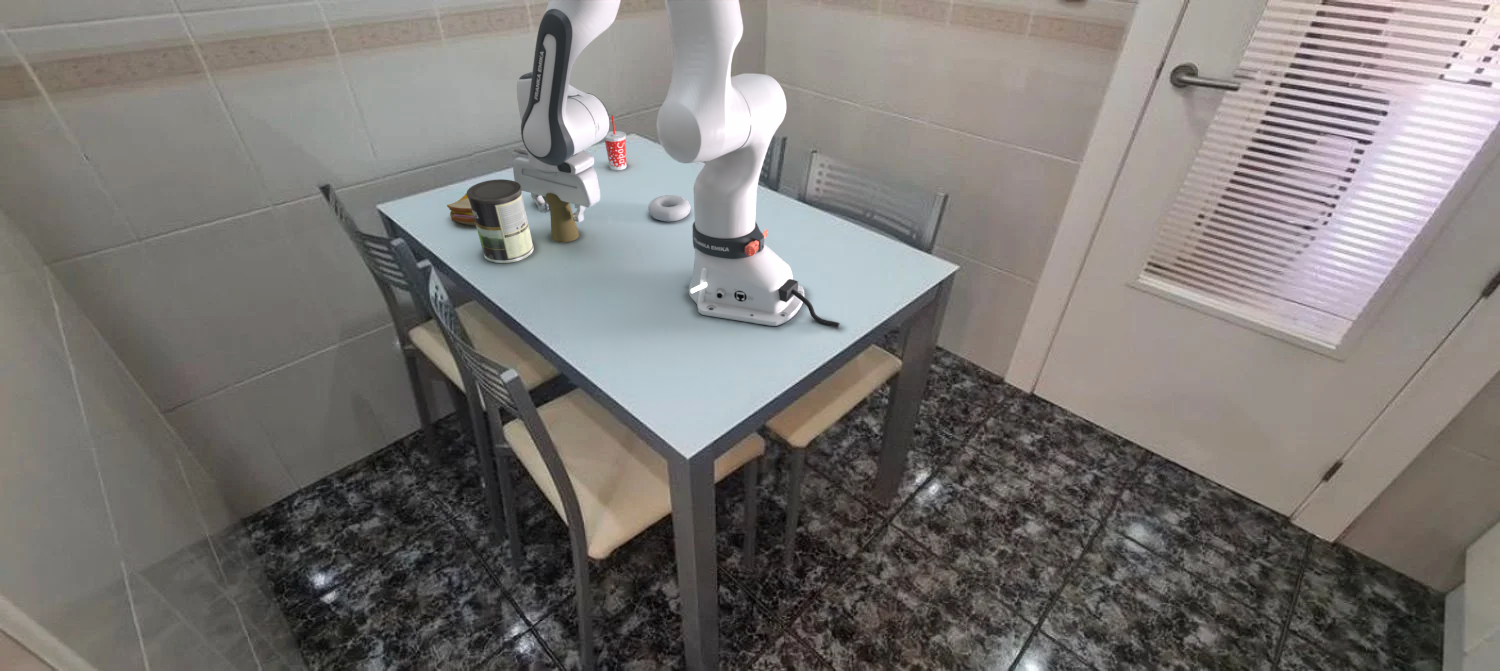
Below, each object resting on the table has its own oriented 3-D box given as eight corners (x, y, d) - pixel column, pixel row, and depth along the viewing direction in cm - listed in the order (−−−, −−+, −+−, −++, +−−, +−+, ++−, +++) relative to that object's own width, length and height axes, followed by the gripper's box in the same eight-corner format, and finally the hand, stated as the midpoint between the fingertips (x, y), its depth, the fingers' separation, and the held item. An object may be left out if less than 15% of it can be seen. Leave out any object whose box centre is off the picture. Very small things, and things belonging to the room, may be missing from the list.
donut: (654, 227, 141) (696, 220, 144) (653, 213, 139) (695, 206, 142) (644, 209, 148) (684, 203, 151) (643, 196, 146) (683, 189, 149)
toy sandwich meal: (519, 208, 147) (514, 189, 144) (481, 232, 137) (476, 213, 134) (476, 200, 150) (471, 181, 147) (436, 223, 140) (430, 204, 137)
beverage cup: (611, 172, 166) (604, 120, 157) (603, 165, 170) (597, 113, 162) (632, 169, 168) (627, 117, 160) (624, 161, 172) (619, 110, 164)
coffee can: (482, 266, 125) (464, 202, 117) (484, 243, 133) (467, 181, 124) (535, 260, 128) (521, 196, 119) (534, 237, 135) (520, 176, 127)
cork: (572, 244, 133) (563, 196, 127) (546, 240, 134) (537, 193, 128) (583, 231, 138) (576, 185, 132) (558, 228, 139) (550, 182, 133)
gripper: (500, 150, 126) (514, 211, 135) (581, 168, 120) (590, 232, 128) (521, 140, 131) (533, 200, 139) (600, 158, 124) (608, 220, 133)
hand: (561, 216), depth 134 cm, fingers open, 8 cm apart
